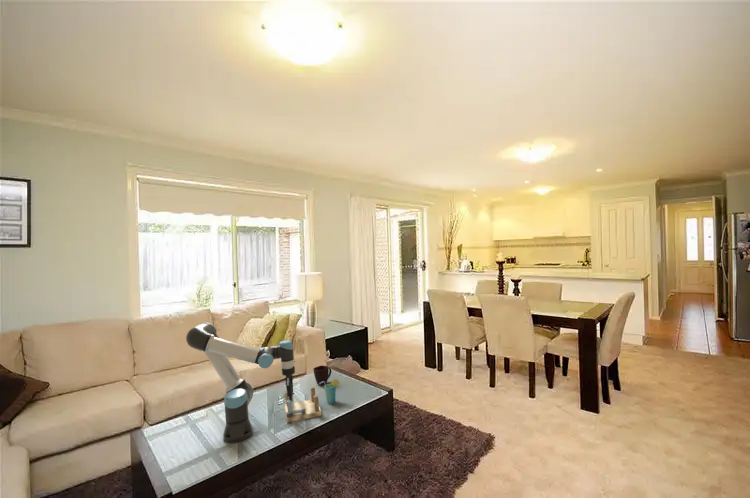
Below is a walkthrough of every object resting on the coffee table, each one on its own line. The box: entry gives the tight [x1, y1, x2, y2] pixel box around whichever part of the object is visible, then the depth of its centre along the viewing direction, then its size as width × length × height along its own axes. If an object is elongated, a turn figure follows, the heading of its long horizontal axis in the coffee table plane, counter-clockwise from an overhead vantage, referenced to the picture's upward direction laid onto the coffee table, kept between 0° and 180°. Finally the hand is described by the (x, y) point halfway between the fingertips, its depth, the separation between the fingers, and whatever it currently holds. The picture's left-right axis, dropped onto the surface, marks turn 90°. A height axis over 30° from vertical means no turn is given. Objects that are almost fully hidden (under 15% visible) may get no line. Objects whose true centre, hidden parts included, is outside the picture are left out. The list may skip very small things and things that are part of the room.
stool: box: [284, 386, 322, 423], centre depth 220 cm, size 20×20×11 cm
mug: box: [312, 365, 332, 386], centre depth 267 cm, size 10×14×12 cm
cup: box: [319, 378, 340, 405], centre depth 231 cm, size 14×8×15 cm, turn 128°
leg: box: [287, 400, 306, 414], centre depth 211 cm, size 10×2×8 cm, turn 103°
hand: (291, 406), depth 214 cm, fingers closed
